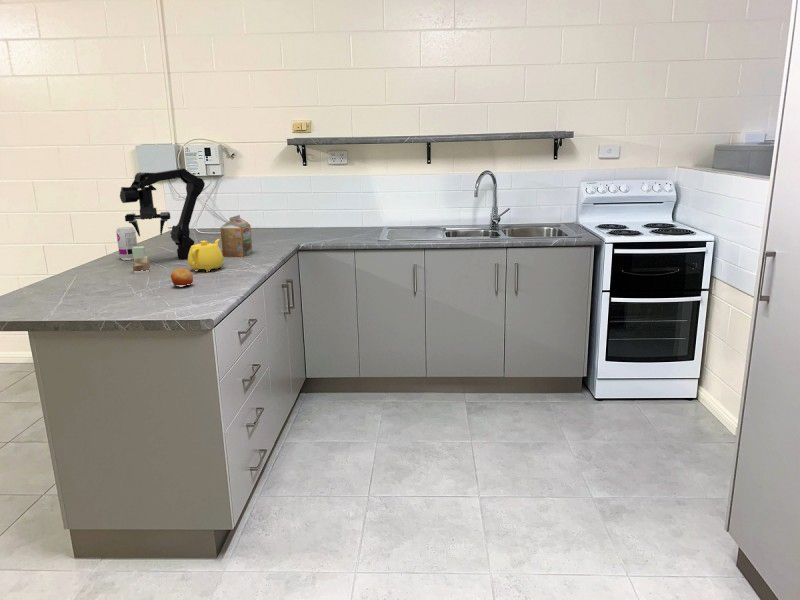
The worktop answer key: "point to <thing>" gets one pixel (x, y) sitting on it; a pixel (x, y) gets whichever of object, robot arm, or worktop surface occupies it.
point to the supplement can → (126, 241)
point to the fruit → (181, 277)
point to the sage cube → (138, 252)
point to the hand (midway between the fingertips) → (150, 235)
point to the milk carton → (236, 238)
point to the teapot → (205, 256)
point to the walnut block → (141, 267)
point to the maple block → (141, 261)
